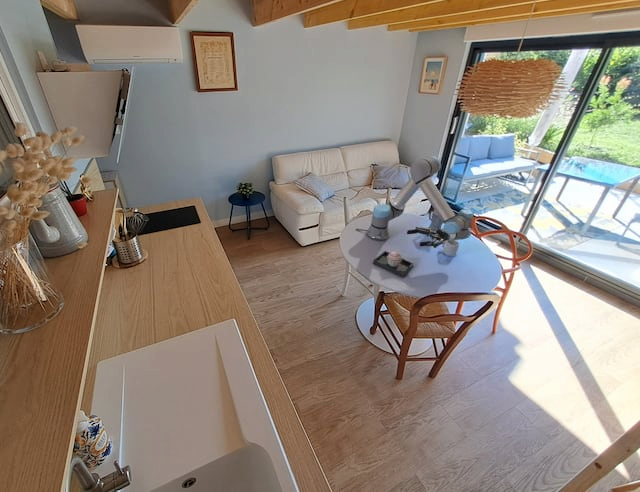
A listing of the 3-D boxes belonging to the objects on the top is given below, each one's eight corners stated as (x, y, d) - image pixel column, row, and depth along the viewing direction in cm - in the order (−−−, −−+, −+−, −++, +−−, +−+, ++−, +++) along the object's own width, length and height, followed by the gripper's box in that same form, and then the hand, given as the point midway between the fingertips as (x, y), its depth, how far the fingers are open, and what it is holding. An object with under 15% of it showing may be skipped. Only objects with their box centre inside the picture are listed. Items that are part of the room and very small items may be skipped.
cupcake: (397, 259, 185) (400, 246, 180) (403, 268, 177) (406, 255, 172) (383, 259, 185) (385, 247, 180) (388, 269, 177) (391, 256, 172)
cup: (451, 257, 187) (455, 246, 183) (437, 250, 195) (440, 239, 191) (457, 254, 190) (461, 243, 186) (443, 247, 198) (447, 236, 194)
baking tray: (373, 263, 183) (373, 260, 182) (384, 254, 192) (384, 250, 190) (402, 277, 171) (403, 274, 169) (412, 266, 180) (413, 263, 178)
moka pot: (437, 239, 207) (444, 215, 197) (419, 229, 219) (425, 206, 209) (445, 236, 211) (453, 212, 201) (427, 226, 222) (434, 203, 213)
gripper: (457, 251, 167) (424, 255, 164) (430, 229, 189) (401, 232, 185) (461, 240, 163) (427, 244, 160) (433, 219, 185) (403, 222, 182)
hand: (413, 238), depth 173 cm, fingers open, 13 cm apart
